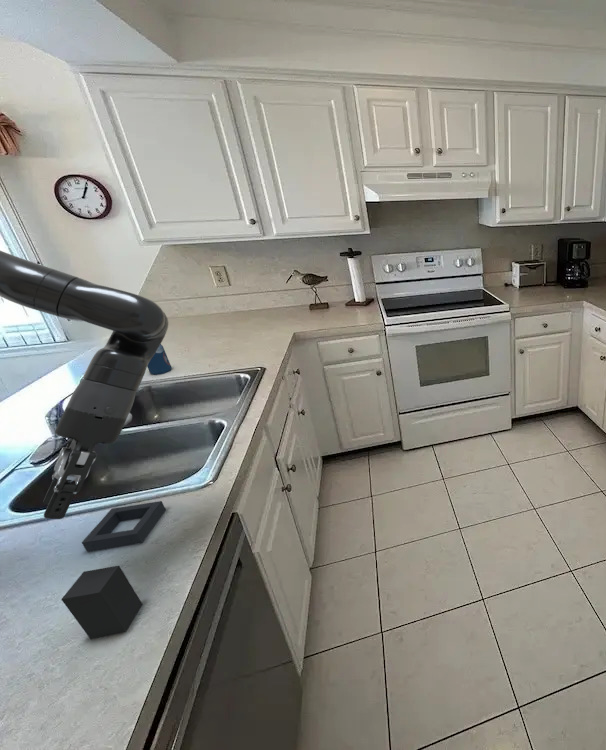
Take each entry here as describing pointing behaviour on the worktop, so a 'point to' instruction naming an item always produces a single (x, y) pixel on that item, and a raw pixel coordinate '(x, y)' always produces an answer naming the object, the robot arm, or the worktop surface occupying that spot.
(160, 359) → the soda can
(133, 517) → the dark square frame
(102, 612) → the dark matte cube
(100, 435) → the robot arm
